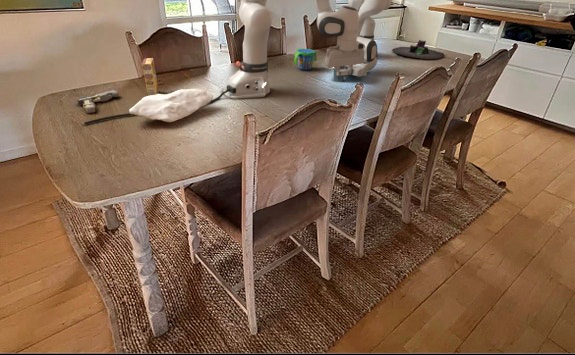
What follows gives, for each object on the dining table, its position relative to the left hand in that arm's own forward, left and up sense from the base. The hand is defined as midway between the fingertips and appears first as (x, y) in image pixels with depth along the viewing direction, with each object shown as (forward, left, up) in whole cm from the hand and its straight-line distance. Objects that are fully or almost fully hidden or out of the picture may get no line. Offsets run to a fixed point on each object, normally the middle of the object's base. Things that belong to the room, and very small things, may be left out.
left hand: (343, 74), depth 176 cm
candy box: (-85, +28, -9) cm, 90 cm away
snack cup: (+2, +40, -9) cm, 41 cm away
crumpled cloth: (-82, +3, -9) cm, 82 cm away
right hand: (+8, +16, -3) cm, 18 cm away
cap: (0, 0, +2) cm, 2 cm away
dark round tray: (+95, +46, -9) cm, 106 cm away
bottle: (+9, +16, -9) cm, 20 cm away
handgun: (-107, +25, -9) cm, 110 cm away
